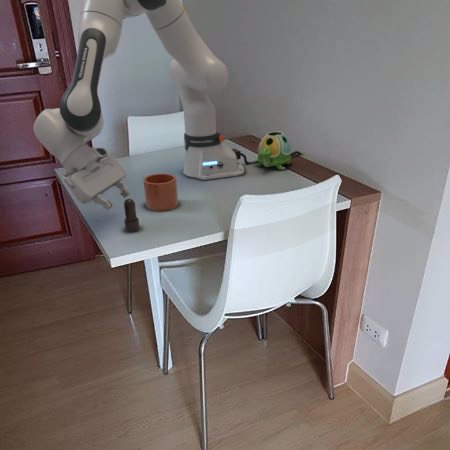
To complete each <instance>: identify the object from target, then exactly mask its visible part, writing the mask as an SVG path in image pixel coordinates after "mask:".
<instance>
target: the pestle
mask: <svg viewBox="0 0 450 450" xmlns="http://www.w3.org/2000/svg"><path fill="white" fill-rule="evenodd" d="M123 208H124V216H125V218H124V228H125V231H126V232H128V233H134V232H138V231H139V230H140V229H141V227H140V219H139V217H138V216H137V210H136V209H137V207H136V202H135V201H134V199H132V198H125V200H124V202H123Z"/></svg>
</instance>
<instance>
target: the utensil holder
mask: <svg viewBox="0 0 450 450" xmlns="http://www.w3.org/2000/svg"><path fill="white" fill-rule="evenodd" d="M143 190H144V200H145V206H146V208H147V209H148V210H151V211H154V212H155V211H156V212H165V211H170V210H173V209H175V208H177V207H178V205H179V199H178V184H177V176H175V175H174V174H171V173H153V174H149V175H147V176H145V177H143Z"/></svg>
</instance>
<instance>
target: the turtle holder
mask: <svg viewBox="0 0 450 450" xmlns="http://www.w3.org/2000/svg"><path fill="white" fill-rule="evenodd" d="M291 153H292V147H291V143H290V141H289V138H288V136H286V134H285V133H284V132H282V131H279V130H278V131H277V130H275V131H274V130H272V131H269V132H267V133H265V135H264V137H262V138H261V140H260V142H259V144H258V147H257V158H256V159H257V160H256V161H258V163H256V165H257V167H259V168H261V167H262V166H263V167H265V168H269V167H274V166H275V167H276V169H277V170H279V171H283V170H286V167H285V166H283V165H286V166H288V165H290V164H291V158H292V156H290V155H291Z"/></svg>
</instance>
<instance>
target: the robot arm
mask: <svg viewBox="0 0 450 450" xmlns="http://www.w3.org/2000/svg"><path fill="white" fill-rule="evenodd" d="M143 14H145V15H146V17H147V19H148V21H149V23H150V25H151V27H152V28H153V30H154V32H155V34H156V36H157V37H158V39H159V41H160V42H161V45H162V46H163V49H164V50H165V51H166V53H167V54H168V55H170V57H172V58H173V59H172V60H171V62H170V63H169V64H170V65H169V69H168V70H169V71H168V72H169V76H170V79H171V80H172V82H173V83H174V85H175V87H176V90H177V93H178V95H179V99H180V103H181V107H182V112H183V121H184V133H183V146H184V150H185V156H184V157H185V158H184V166H183V171H182V173H183V174H184V175H185V176H187V177H191V178H196V179H199V180H202V181H207V180H214V179H222V178H223V179H224V178H227V177H228V178H231V177H237V176H242V175H243V174H244V173H245V168H244V166H243V165H242V163H239V162H238V160H241V157H243V161H244V163H245V164H246V165H252V164H258V163H259V162H258V160H255V161H251V162H249V161H248V160H247V155H246V154H244V153H242V151H241V150H238V149H237V148H231V147H229V146H227V145H226V144H225V143H224V141H225V136H224V135H223V134H222V133H220V131H217V115H216V113H217V111H216V108H215V106H214V104H213V103H212V101H211V99H210V97H209V94H216V93H220V92H221V91H223V90H224V89H225V88H226V86H227V84H228V82H229V70H228V68H227V65H226V64H225V63H224V62H223V61H221V60H220V59H219V58H218V57H217V56H216V55H215V54H214V53H213V52H212V50H211V49H210V48H209V47H208V46H207V44H206V43H205V42H204V40H203V38H202V37H201V36H200V35H199V34H198V32H197V30H196V28H195V27H194V25H193V23H192V21H191V19H190V17H189V15H188V13H187V11H186V9H185V7H184V5H183V3H182V2H181V0H83V1H82V5H81V8H80V13H79V20H78V33H77V39H78V40H77V41H78V42H77V43H78V44H77V45H78V50H77V54H76V59H75V65H74V70H73V73H72V78H71V81H70V84H69V85H68V87H67V88H66V90H65V91H64V92H63V94H62V96H61V97H60V100H59V107H57V108H45V109H44V110H42V111H41V112H40V113H39V114H38V115H37V116H36V118H35V120H34V123H33V127H32V128H33V133H34V135H35V137H36V138H37V140H38V141H39V142H40V144H41V145H42V146H43V147H44V148H45V149H46V150H47V151H48V152H49V153H50V155H52V156H53V157H55V158H56V159H57V160H58V161H59V162H60V164H61V166H62V167H63V168H64V169H65V170H66V172H65V173H63V182H64V183H66V185H67V187H68V189H69V190H70V192H71V193H72V194H73V195H74V196H75V198H76V199H77V200H78V201H79V202H80V203H82V204H84V205H86V204H88V203H90V202H92V201H93V202H94V203H95V204H97V205H99V206H102V207H103V208H104V209H105V210H106V211H109V210H110V209H111V208H112V207H113V206H114V204H113V203H112V202H111V201H110V200H109V199H108V200H106V199H105V198H103V196H102V194H105V193H106V192H107V191H109V190H110V189H112V188H114V187H115V188H117V189H119V191H120V196H122V198H124V199H127V197H129V196H130V194H131V193H130V191H129V189H127V187H126V184H125V182H124V179H125V178H126V177H127V172H126V170H125V169H124V167H123V166H122V165H121V164H120V162H118V161H117V160H116V159H115V158H114V156H111V155H109V154H110V152H109V151H108V149H107V148H105V147H92V146H89V145H88V144H87V143H88V142H90V141H92V140H94V139H95V138H96V137H98V136H99V135H100V134H101V133H102V131H103V129H104V125H105V124H104V122H105V121H104V115H103V112H102V106H101V102H100V101H101V100H100V98H99V94H98V93H99V92H98V88H99V83H100V77H101V73H102V67H103V63H104V61H105V59H107V58H110V57H112V56H114V55H115V53H116V51H117V48H118V45H119V42H120V40H121V35H122V28H123V21H124V19H129V18H135V17H138V16H141V15H143ZM296 154H297V155H298V156H301V155H302V153H301V152H300V151H298V150H295V151H293V152H291V155H290V156H291V157H293V156H294V155H296Z"/></svg>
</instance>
